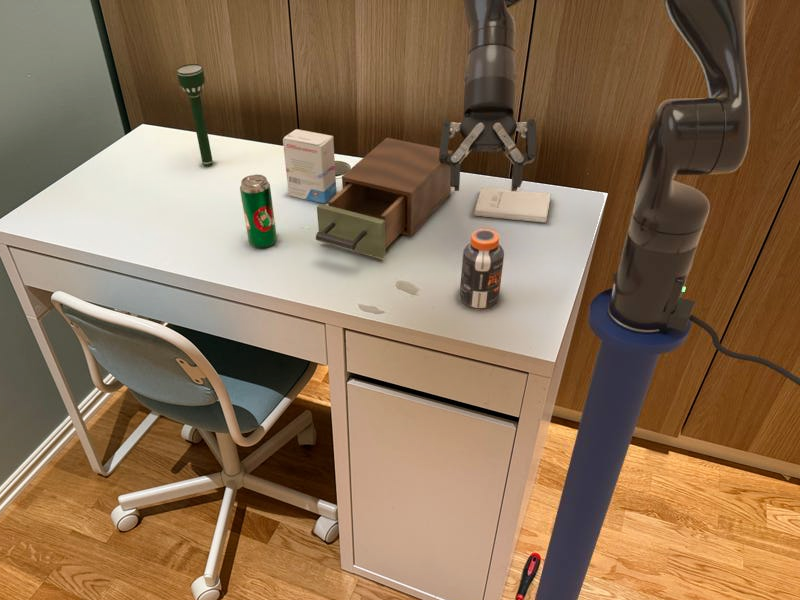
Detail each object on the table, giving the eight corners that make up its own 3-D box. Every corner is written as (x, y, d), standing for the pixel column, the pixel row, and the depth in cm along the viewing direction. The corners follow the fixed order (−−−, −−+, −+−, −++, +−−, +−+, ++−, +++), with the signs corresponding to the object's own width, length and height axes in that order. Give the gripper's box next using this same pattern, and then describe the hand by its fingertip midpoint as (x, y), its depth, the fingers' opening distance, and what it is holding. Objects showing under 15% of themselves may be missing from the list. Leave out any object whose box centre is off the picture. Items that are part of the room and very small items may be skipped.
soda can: (252, 233, 129) (242, 173, 121) (279, 234, 128) (271, 173, 120) (246, 249, 125) (235, 188, 117) (274, 249, 124) (265, 188, 116)
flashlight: (220, 157, 152) (203, 62, 139) (219, 169, 148) (202, 72, 135) (196, 160, 152) (177, 65, 139) (195, 171, 148) (175, 75, 135)
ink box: (338, 192, 138) (334, 134, 130) (325, 204, 134) (321, 145, 127) (300, 183, 141) (295, 126, 133) (287, 195, 138) (280, 137, 130)
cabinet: (410, 237, 124) (411, 193, 118) (344, 219, 130) (341, 176, 124) (450, 193, 134) (453, 150, 128) (387, 178, 140) (386, 137, 134)
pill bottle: (491, 313, 107) (498, 250, 100) (453, 303, 110) (458, 241, 102) (503, 291, 111) (511, 229, 103) (467, 282, 113) (472, 220, 106)
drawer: (367, 274, 115) (366, 239, 111) (304, 255, 121) (300, 220, 116) (423, 214, 128) (424, 180, 123) (363, 199, 133) (362, 166, 128)
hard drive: (545, 224, 124) (474, 216, 128) (550, 200, 130) (481, 193, 133) (547, 216, 123) (474, 208, 127) (551, 192, 129) (482, 186, 132)
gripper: (534, 94, 111) (530, 197, 110) (442, 95, 113) (437, 196, 113) (541, 72, 104) (537, 183, 103) (442, 74, 106) (437, 182, 105)
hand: (485, 189), depth 108 cm, fingers open, 8 cm apart
